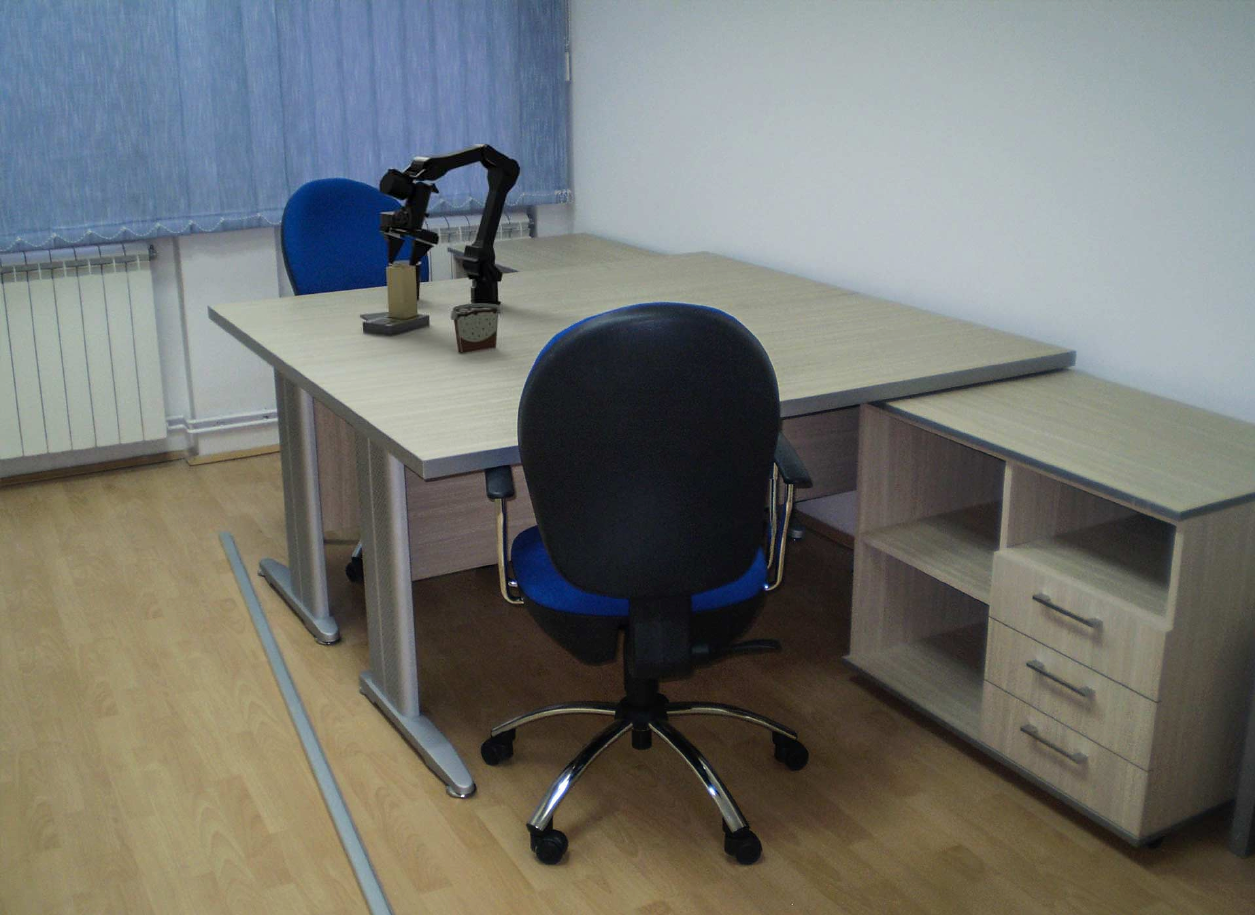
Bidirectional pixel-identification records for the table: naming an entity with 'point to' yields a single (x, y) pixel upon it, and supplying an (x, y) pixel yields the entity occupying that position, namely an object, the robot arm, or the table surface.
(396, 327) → the grey tray
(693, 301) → the table surface
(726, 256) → the table surface
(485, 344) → the food container
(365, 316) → the rubber pad
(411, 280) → the tan rectangular block
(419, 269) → the coffee mug
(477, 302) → the robot arm
